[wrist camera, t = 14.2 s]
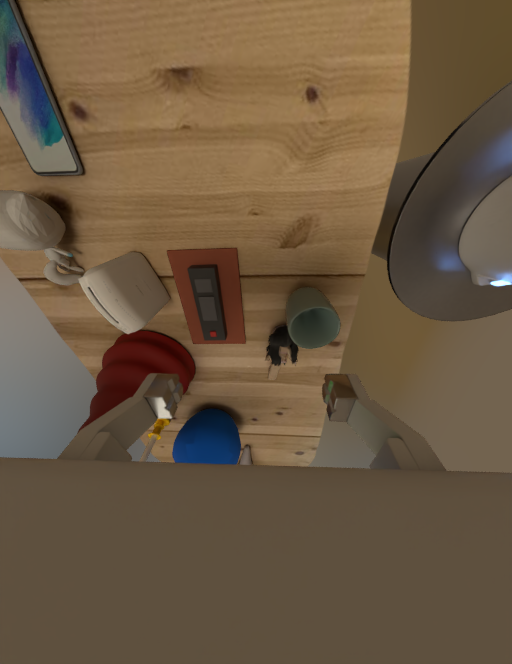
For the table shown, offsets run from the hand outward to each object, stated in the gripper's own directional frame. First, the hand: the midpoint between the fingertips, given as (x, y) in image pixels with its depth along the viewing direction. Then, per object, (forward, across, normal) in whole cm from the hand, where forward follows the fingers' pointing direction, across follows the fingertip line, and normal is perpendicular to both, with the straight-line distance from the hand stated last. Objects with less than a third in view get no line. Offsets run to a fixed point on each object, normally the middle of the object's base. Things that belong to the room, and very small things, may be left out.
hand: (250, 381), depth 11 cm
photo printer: (+27, +21, +3) cm, 35 cm away
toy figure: (+27, -4, +20) cm, 34 cm away
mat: (+27, +10, +8) cm, 30 cm away
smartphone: (+27, +28, -20) cm, 44 cm away
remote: (+27, +10, +8) cm, 29 cm away
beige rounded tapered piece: (+27, +34, -4) cm, 44 cm away
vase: (+27, +16, +48) cm, 58 cm away
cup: (+27, -8, +8) cm, 30 cm away
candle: (+27, +34, +50) cm, 66 cm away
